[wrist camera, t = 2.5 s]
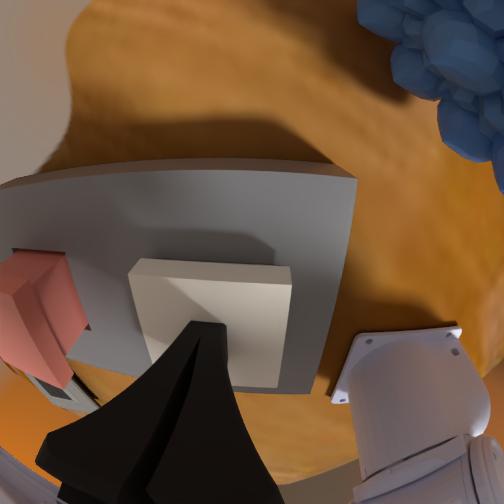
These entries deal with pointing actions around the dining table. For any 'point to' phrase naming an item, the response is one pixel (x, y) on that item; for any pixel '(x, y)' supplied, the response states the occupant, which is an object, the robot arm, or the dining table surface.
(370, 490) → the robot arm
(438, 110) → the grapes
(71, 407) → the electrical outlet
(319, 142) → the dining table surface
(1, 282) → the red plunger
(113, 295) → the panel
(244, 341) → the white plunger
